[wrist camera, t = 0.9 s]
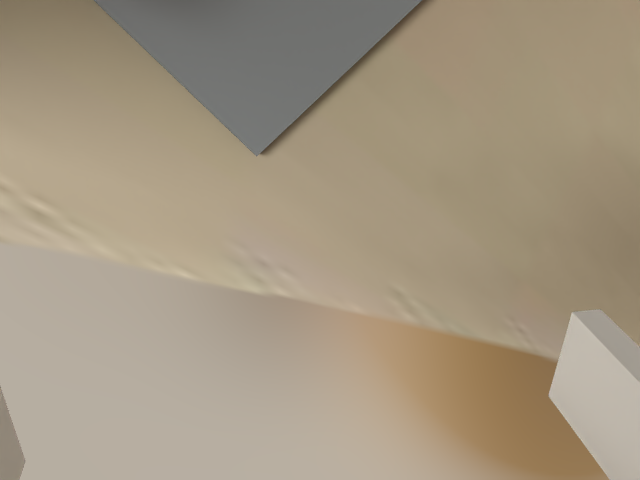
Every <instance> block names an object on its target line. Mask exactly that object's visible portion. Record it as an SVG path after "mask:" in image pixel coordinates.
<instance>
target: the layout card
mask: <svg viewBox="0 0 640 480" xmlns="http://www.w3.org/2000/svg"><path fill="white" fill-rule="evenodd" d="M94 1H95V2H96V3H97V4H98V5H99V6H100V7H101V8H102V9H103V10H104V11H105V12H106V13H107V14H108V15H109V16H110V17H112V18H113V19H114V20H115V21H116V22H117V23H118V24H119V25H120V26H121V27H122V28H123V29H124V30H125V31H126V32H127V33H128V34H129V35H130V36H131V37H132V38H133V39H135V40H136V41H137V42H138V43H139V44H140V45H141V46H142V47H143V48H144V49H145V50H146V51H147V52H148V53H149V54H150V55H151V56H152V57H153V58H154V59H155V60H156V61H157V62H159V63H160V64H161V65H162V66H163V67H164V68H165V69H166V70H167V71H168V72H169V73H170V74H171V75H172V76H173V77H174V78H175V79H176V80H177V81H178V82H179V83H180V84H182V85H183V86H184V87H185V88H186V89H187V90H188V91H189V92H190V93H191V94H192V95H193V96H194V97H195V98H196V99H197V100H198V101H199V102H200V103H201V104H202V105H203V106H205V107H206V108H207V109H208V110H209V111H210V112H211V113H212V114H213V115H214V116H215V117H216V118H217V119H218V120H219V121H220V122H221V123H222V124H223V125H224V126H225V127H226V128H228V129H229V130H230V131H231V132H232V133H233V134H234V135H235V136H236V137H237V138H238V139H239V140H240V141H241V142H242V143H243V144H244V145H245V146H246V147H247V148H248V149H249V150H250V151H252V152H253V153H254V154H255V155H256V156H258V155H259V154H260V153H261V152H262V151H263V150H264V149H265V148H266V147H267V146H268V145H269V144H270V143H271V142H273V141H274V140H275V139H276V138H277V137H278V136H279V135H280V134H281V133H282V132H283V131H284V130H285V129H286V128H287V127H288V126H289V125H291V124H292V123H293V122H294V121H295V120H296V119H297V118H298V117H299V116H300V115H301V114H302V113H303V112H304V111H305V110H306V109H307V108H309V107H310V106H311V105H312V104H313V103H314V102H315V101H316V100H317V99H318V98H319V97H320V96H321V95H322V94H323V93H324V92H325V91H327V90H328V89H329V88H330V87H331V86H332V85H333V84H334V83H335V82H336V81H337V80H338V79H339V78H340V77H341V76H342V75H343V74H345V73H346V72H347V71H348V70H349V69H350V68H351V67H352V66H353V65H354V64H355V63H356V62H357V61H358V60H359V59H360V58H361V57H363V56H364V55H365V54H366V53H367V52H368V51H369V50H370V49H371V48H372V47H373V46H374V45H375V44H376V43H377V42H378V41H379V40H381V39H382V38H383V37H384V36H385V35H386V34H387V33H388V32H389V31H390V30H391V29H392V28H393V27H394V26H395V25H396V24H397V23H399V22H400V21H401V20H402V19H403V18H404V17H405V16H406V15H407V14H408V13H409V12H410V11H411V10H412V9H413V8H414V7H415V6H417V5H418V4H419V3H420V2H421V1H422V0H94Z"/></svg>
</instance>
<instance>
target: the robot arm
mask: <svg viewBox="0 0 640 480" xmlns="http://www.w3.org/2000/svg"><path fill="white" fill-rule="evenodd" d="M549 397H550V398H551V400H552V401H553V403H554V404H555V405H556V407H557V408H558V409H559V411H560V412H561V413H562V415H563V416H564V418H565V419H566V420H567V422H568V423H569V425H570V426H571V427H572V429H573V430H574V431H575V433H576V434H577V435H578V437H579V438H580V440H581V441H582V442H583V444H584V445H585V446H586V448H587V449H588V450H589V452H590V453H591V454H592V456H593V457H594V459H595V460H596V461H597V463H598V464H599V465H600V467H601V468H602V469H603V471H604V472H605V473H606V475H607V476H608V478H609V479H610V480H640V347H639V346H638V345H637V344H636V343H635V342H634V341H633V340H632V339H631V338H630V337H629V336H628V335H627V334H626V333H625V332H624V331H623V330H621V329H620V328H619V327H618V326H617V325H616V324H615V323H614V322H613V321H612V320H611V319H610V318H609V317H608V316H607V315H606V314H605V313H604V312H603V311H602V310H601V309H597V310H587V311H577V312H572V315H571V318H570V322H569V325H568V329H567V332H566V336H565V339H564V343H563V346H562V350H561V353H560V357H559V360H558V364H557V367H556V371H555V374H554V378H553V382H552V385H551V389H550V392H549ZM24 464H25V458H24V455H23V452H22V450H21V447H20V444H19V441H18V438H17V435H16V432H15V429H14V426H13V423H12V420H11V417H10V414H9V411H8V408H7V405H6V402H5V399H4V396H3V393H2V390H1V387H0V480H19V479H20V476H21V473H22V470H23V467H24Z"/></svg>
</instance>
